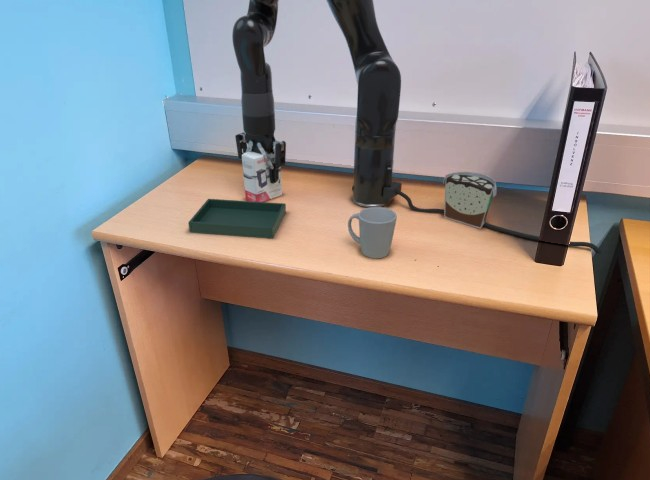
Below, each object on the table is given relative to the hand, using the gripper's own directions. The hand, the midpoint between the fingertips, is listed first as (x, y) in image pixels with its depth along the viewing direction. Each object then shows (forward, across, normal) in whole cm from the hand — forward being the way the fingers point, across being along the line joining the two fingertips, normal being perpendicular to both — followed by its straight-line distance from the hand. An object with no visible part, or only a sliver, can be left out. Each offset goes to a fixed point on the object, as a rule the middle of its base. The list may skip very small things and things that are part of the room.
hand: (262, 179), depth 135 cm
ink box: (+5, 0, 0) cm, 5 cm away
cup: (+5, -36, +10) cm, 38 cm away
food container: (+5, -48, -17) cm, 51 cm away
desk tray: (+5, -4, +14) cm, 16 cm away
